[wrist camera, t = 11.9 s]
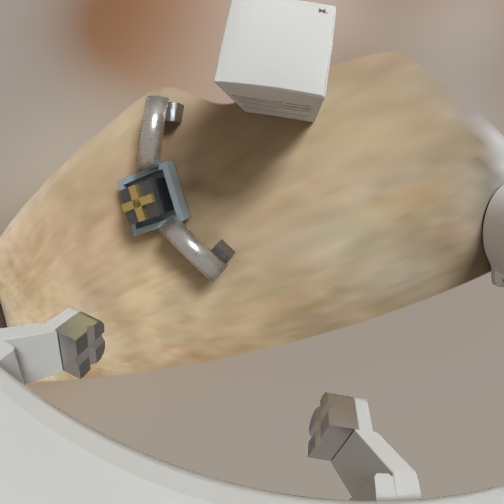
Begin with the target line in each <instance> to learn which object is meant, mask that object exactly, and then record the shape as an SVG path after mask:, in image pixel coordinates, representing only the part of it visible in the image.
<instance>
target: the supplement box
mask: <svg viewBox="0 0 504 504" xmlns="http://www.w3.org/2000/svg"><path fill="white" fill-rule="evenodd" d="M335 15H336V7H335V6H330V5H324V4H318V3H311V2H305V1H297V0H231V3H230V7H229V11H228V16H227V20H226V24H225V29H224V33H223V38H222V42H221V47H220V52H219V57H218V62H217V67H216V73H215V78H214V82H215V83H216V84H217V85H218V86H219V87H220V88H221V89H222V90H224V91H225V92H226V93H227V94H228V95H229V96H230V97H231V98H232V99H233V100H234V101H235V102H236V103H237V104H238V105H239V106H240V107H241V108H242V109H243V110H244V111H245V112H249V113H256V114H264V115H271V116H278V117H284V118H290V119H296V120H302V121H308V122H314V121H315V119H316V116H317V114H318V112H319V110H320V107H321V105H322V103H323V100H324V98H325V95H326V88H327V80H328V73H329V65H330V57H331V51H332V41H333V32H334V24H335Z"/></svg>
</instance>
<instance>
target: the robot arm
mask: <svg viewBox="0 0 504 504" xmlns="http://www.w3.org/2000/svg"><path fill="white" fill-rule="evenodd" d="M483 243H484V249H485V253H486V256H487V258H488V260H489V263H490V265H491V273H492V274H491V275H492V282H493V284H494V285H496V286H498V287H504V279H503V278H504V185H502V186H501V187H500V188H499V189H498V190H497V191H496V192H495V194H494V195H493V197H492V199H491V201H490V203H489V205H488V208H487V211H486V214H485V219H484V225H483ZM103 332H104V324H103V323H102V322H101V321H100V320H97V319H95V318H93V317H91V316H89V315H87V314H85V313H83V312H81V311H79V310H77V309H75V308H73V307H69V308H67V309H66V310H64V311H63V312H61V313H60V314H59V315H57V316H56V317H54V318H53V319H51V320H50V321H48V322H47V323H46V324H43V323H37V324H29V325H22V326H14V327H7V328H0V504H504V487H499V486H497V487H492V488H488V489H483V490H479V491H474V492H469V493H464V494H458V495H451V496H445V497H437V498H428V499H422V497H421V492H420V488H419V483H418V478H417V474H416V472H415V471H414V470H413V469H412V468H411V467H410V466H409V465H408V464H407V463H406V462H405V461H404V460H403V459H402V458H401V457H400V456H399V455H398V454H397V453H396V451H394V449H393V448H392V447H391V446H390V445H389V444H388V443H387V442H386V441H385V440H384V439H383V438H382V437H381V436H380V435H379V434H378V433H377V432H373V427H372V422H371V417H370V412H369V407H368V402H367V400H366V399H364V398H357V397H348V396H342V395H337V394H331V393H326V392H325V394H324V395H323V396H322V398H321V400H320V407H318V408H316V409H315V411H314V413H313V416H312V418H311V422H310V426H309V434H310V435H311V436H312V438H311V439H310V441H309V446H308V457H312V458H317V459H324V460H330V461H331V463H332V464H333V466H334V468H335V469H336V471H337V473H338V474H339V476H340V478H341V479H342V481H343V483H344V484H345V486H346V487H347V489H348V491H349V492H350V494H351V496H352V498H351V499H350V500H332V499H321V498H312V497H304V496H296V495H289V494H283V493H277V492H272V491H266V490H261V489H256V488H251V487H247V486H243V485H238V484H234V483H231V482H227V481H223V480H219V479H216V478H212V477H209V476H206V475H202V474H199V473H196V472H193V471H190V470H187V469H184V468H181V467H178V466H175V465H173V464H170V463H167V462H165V461H162V460H160V459H157V458H155V457H152V456H150V455H147V454H145V453H143V452H140V451H138V450H136V449H134V448H131V447H129V446H127V445H125V444H123V443H120V442H118V441H116V440H114V439H112V438H110V437H108V436H106V435H104V434H102V433H100V432H99V431H97V430H95V429H93V428H91V427H89V426H87V425H86V424H84V423H82V422H80V421H79V420H77V419H75V418H73V417H72V416H70V415H68V414H67V413H65V412H64V411H62V410H60V409H59V408H57V407H56V406H54V405H53V404H51V403H49V402H48V401H46V400H45V399H43V398H42V397H41V396H39V395H38V394H36V393H35V392H33V391H32V390H31V389H29V388H28V387H26V386H25V384H26V383H30V382H33V381H36V380H39V379H42V378H45V377H48V376H51V375H53V374H56V373H59V372H62V371H63V370H64V371H66V372H68V373H70V374H72V375H74V376H75V377H77V378H79V379H82V378H83V377H84V375H85V374H86V373H87V372H88V371H89V370H90V364H94V363H97V362H98V361H99V360H100V359H101V357H102V355H103V353H104V349H105V341H104V339H103V337H102V335H101V334H102V333H103Z"/></svg>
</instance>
